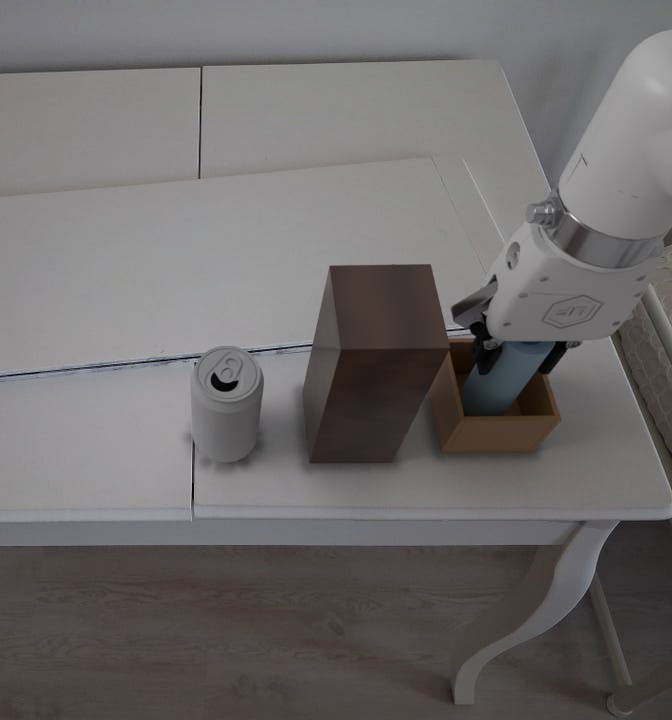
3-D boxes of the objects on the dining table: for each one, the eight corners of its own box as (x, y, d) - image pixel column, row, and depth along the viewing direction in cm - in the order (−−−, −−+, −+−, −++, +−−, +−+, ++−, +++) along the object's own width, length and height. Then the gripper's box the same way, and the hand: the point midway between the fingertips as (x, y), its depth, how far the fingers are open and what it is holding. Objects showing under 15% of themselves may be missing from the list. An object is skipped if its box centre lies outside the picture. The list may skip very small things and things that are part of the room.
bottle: (508, 389, 72) (563, 311, 61) (503, 428, 69) (558, 355, 58) (462, 376, 72) (507, 297, 62) (454, 414, 70) (500, 339, 59)
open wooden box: (511, 372, 75) (535, 336, 69) (534, 451, 70) (561, 420, 64) (424, 373, 75) (441, 338, 69) (440, 452, 70) (460, 421, 64)
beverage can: (182, 452, 70) (178, 391, 60) (206, 399, 74) (206, 332, 64) (244, 475, 69) (250, 415, 59) (265, 419, 72) (275, 354, 62)
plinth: (380, 391, 74) (430, 263, 57) (392, 462, 69) (450, 348, 53) (302, 392, 74) (329, 265, 57) (309, 463, 70) (340, 349, 53)
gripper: (491, 261, 47) (421, 398, 63) (752, 258, 47) (618, 396, 62) (467, 180, 51) (407, 327, 67) (708, 176, 51) (592, 325, 66)
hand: (510, 359), depth 64 cm, fingers closed on bottle, 4 cm apart
